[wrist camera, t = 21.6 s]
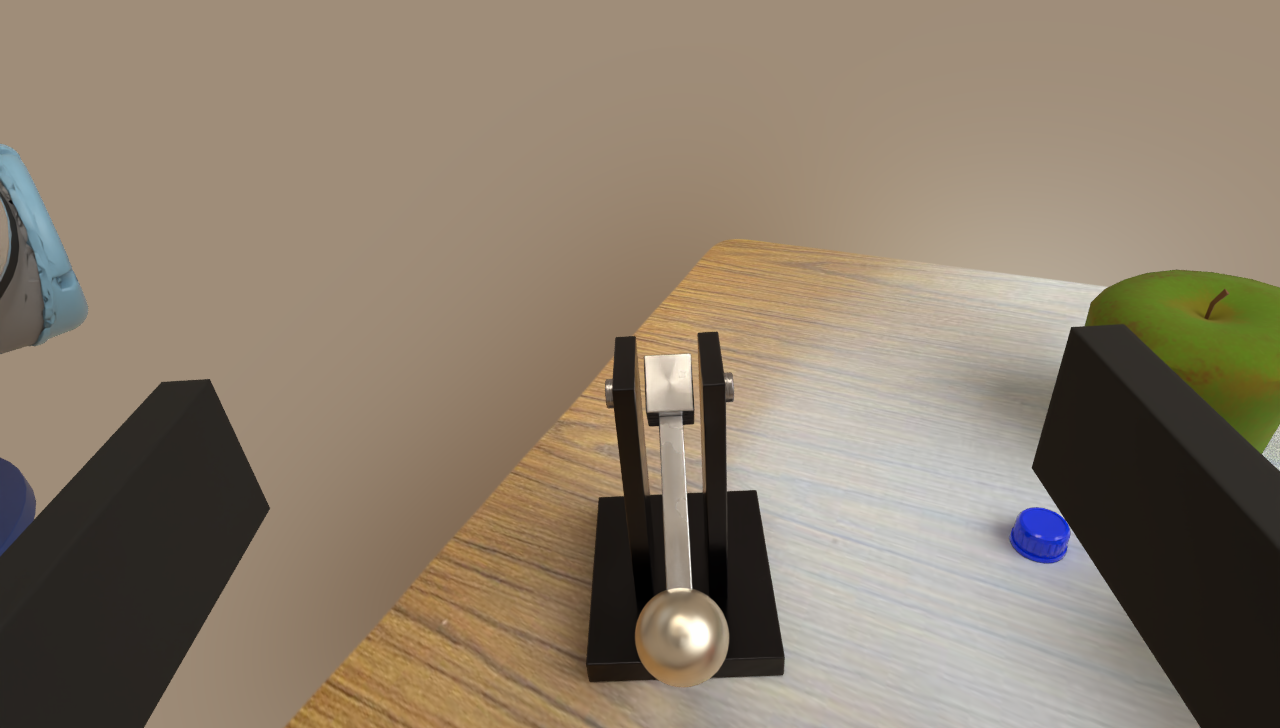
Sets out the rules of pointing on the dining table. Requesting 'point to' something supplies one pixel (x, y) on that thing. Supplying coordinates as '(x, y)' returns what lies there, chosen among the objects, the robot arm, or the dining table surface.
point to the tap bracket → (718, 536)
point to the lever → (677, 545)
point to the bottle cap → (1040, 535)
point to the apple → (1208, 339)
